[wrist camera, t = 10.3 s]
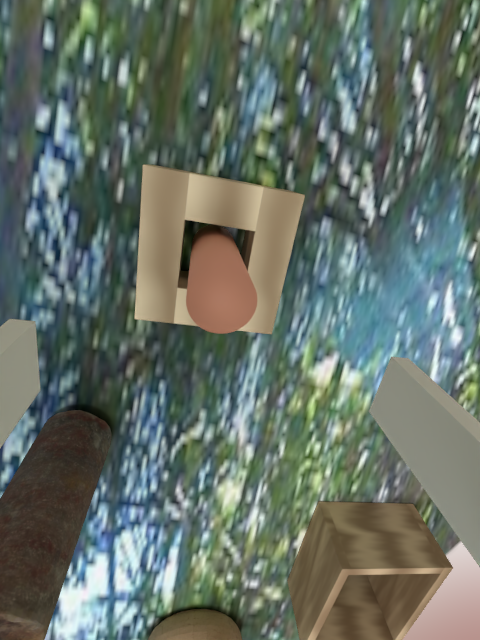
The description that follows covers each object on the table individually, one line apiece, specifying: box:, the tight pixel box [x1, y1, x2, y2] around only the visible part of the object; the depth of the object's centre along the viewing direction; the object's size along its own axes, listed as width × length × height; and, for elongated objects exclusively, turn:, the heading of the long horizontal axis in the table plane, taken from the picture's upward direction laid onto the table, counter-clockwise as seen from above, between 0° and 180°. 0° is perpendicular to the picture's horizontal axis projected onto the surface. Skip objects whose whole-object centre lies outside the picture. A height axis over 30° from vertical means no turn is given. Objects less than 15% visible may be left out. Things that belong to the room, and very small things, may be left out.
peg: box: [186, 225, 257, 334], centre depth 25 cm, size 4×4×14 cm
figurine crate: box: [287, 502, 453, 640], centre depth 50 cm, size 15×19×9 cm
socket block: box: [135, 165, 305, 334], centre depth 29 cm, size 12×12×5 cm
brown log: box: [0, 410, 111, 640], centre depth 29 cm, size 8×7×20 cm
